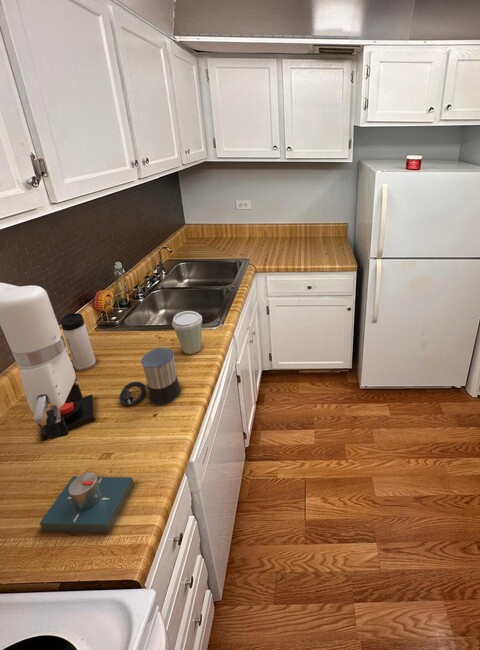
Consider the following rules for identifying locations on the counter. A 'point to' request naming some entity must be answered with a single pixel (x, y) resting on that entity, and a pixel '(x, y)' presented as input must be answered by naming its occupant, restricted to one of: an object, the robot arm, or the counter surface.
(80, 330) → the travel mug
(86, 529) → the dial panel
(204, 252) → the counter surface
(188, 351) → the disposable coffee cup
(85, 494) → the dial knob
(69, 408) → the button
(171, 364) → the milk frother
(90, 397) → the button box
